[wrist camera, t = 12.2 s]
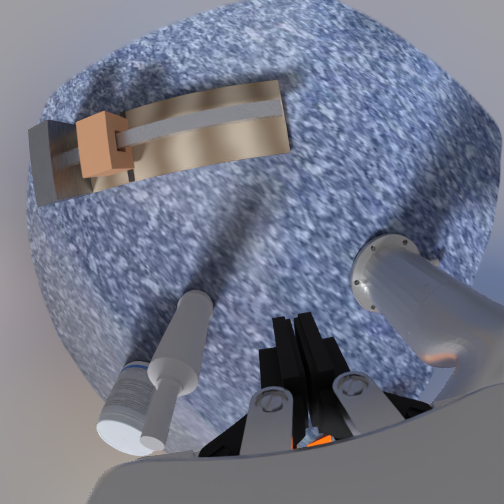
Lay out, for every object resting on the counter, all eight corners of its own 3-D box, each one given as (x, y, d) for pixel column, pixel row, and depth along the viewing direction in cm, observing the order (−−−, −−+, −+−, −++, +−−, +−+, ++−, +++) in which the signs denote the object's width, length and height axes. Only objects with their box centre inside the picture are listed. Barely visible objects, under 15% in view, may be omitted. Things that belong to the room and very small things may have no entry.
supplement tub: (113, 369, 45) (83, 425, 30) (146, 350, 43) (117, 412, 29) (149, 403, 47) (129, 460, 33) (183, 387, 46) (168, 451, 31)
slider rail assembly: (269, 82, 33) (277, 54, 23) (281, 153, 35) (294, 147, 26) (69, 134, 33) (28, 129, 24) (78, 197, 36) (37, 207, 26)
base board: (276, 82, 33) (277, 79, 31) (289, 152, 35) (290, 152, 34) (69, 134, 33) (65, 134, 32) (78, 197, 36) (74, 198, 35)
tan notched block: (127, 119, 31) (104, 110, 25) (134, 168, 33) (111, 168, 27) (102, 128, 32) (76, 122, 25) (108, 175, 33) (82, 178, 27)
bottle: (175, 290, 40) (109, 421, 16) (209, 285, 40) (171, 424, 16) (184, 321, 42) (137, 458, 18) (217, 317, 42) (193, 461, 18)
